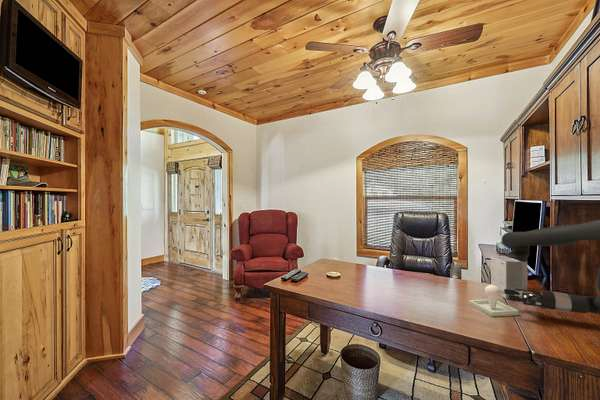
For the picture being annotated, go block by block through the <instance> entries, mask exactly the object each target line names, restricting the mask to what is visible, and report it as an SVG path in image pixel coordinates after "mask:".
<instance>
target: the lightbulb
mask: <svg viewBox="0 0 600 400" xmlns="http://www.w3.org/2000/svg"><path fill="white" fill-rule="evenodd" d="M484 293H485V295H486V296H487V299H488V300H489V306H490V307H491V308H493V309H494V308H496V304H497V301H499V298H500V297H501V291H500V289H499V288H498V287H496V286H494V285H491V284H489V285H487V286H485V288H484Z"/></svg>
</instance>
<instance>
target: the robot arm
mask: <svg viewBox="0 0 600 400" xmlns="http://www.w3.org/2000/svg"><path fill="white" fill-rule="evenodd" d="M579 241H580V242H582V241H600V219H596V220H591V221H587V222H583V223H577V224H568V225H567V224H566V225H555V226H550V227H549V226H548V227H543V228H537V229H532V230H527V231H511V232H509V231H508V232H506V233H504V234H502V236H501V242H502V244H503V245H504V246H505V247H506V248H509V249H511V251H509V252H507V253H506V254H505V256H507V257H510V258H513V259H515V260H518V261H521V262H522V289H515V290H509V289H504V293H505V294H509V299H508V300H509V301H512V302H519V303H521V304H523V305H525V306H533V307H539V308H541V309H547V310H553V311H559V312H571V313H579V314H588V313H591V314H596V315H600V296H591V295H590V296H588V295H586V296H584V295H579V294H578V295H577V294H570V293H563V292H557V291H550V290H542V289H539V290H537V291H536V292H537V293H535V292H534V293H533V292H532V290H529V289H528V258H529V256H530V246H536V247H538V246H539V247H556V246H567V245H572V244H573V243H577V242H579ZM596 288H597V290H598V291H600V266H599V268H598V271H597V279H596ZM518 292H519V293H518ZM513 295H516V296H513Z"/></svg>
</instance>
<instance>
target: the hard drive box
mask: <svg viewBox="0 0 600 400" xmlns="http://www.w3.org/2000/svg"><path fill="white" fill-rule="evenodd" d="M490 285H494V286H496V287H498V288H499V289H500V291H501V295H500V297H503V299H507V300H509V294H505V293H504V289H509V290H515V289H522V262H521V261H518V260H515V259H513V258H510V257H507V256H506V255H495V254H493V255H490ZM518 293H519V292H518ZM513 296H516V295H513Z"/></svg>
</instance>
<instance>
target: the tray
mask: <svg viewBox="0 0 600 400" xmlns="http://www.w3.org/2000/svg"><path fill="white" fill-rule="evenodd" d="M468 305H469V306H471V307H473V308H475V309H477V310H478V311H480V312H482V313H484V314H486V315H487V316H490V317H492V318H495V317H511V316H512V317H513V316H519V315H520V310H518V309H516V308H514V307H512V306H510V305H507V304H505V303H503V302H501V301H499V300H497V304H496V308H494V309H493V308H491V307H490V306H489V300H488V298H485V299H472V300H471V299H470V300H469V299H468Z"/></svg>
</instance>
